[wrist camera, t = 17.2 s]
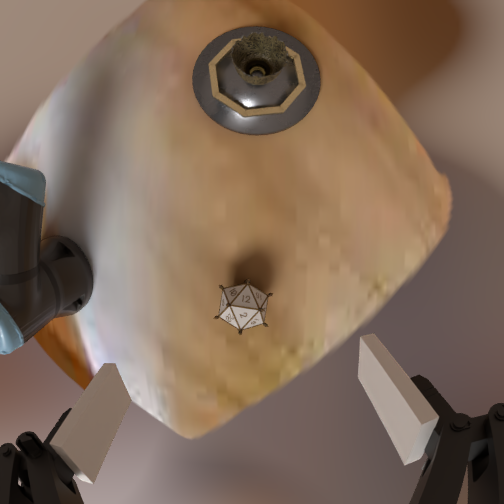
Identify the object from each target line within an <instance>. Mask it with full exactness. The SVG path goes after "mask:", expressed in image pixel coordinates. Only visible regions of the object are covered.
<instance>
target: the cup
mask: <svg viewBox="0 0 504 504" xmlns="http://www.w3.org/2000/svg"><path fill="white" fill-rule="evenodd" d="M287 56H288V51H286V46H285V44H284V42H283V41H281V40H279V39H278V37H276V36H273V37H272V38H270V37H269V36H265V35H264V33H263V32H260V33H259V34H258V33H257V32H251V33H250V34H249V35H248V36H247V37H246V36H244V35H243V36H242V37H241V41H239V40H237V41H236V42H235V44H234V45H233V46H232V53H231V57H232V62H233V64H234V66H235V69H236V71H237V73H238V74H239V76H240V77H241V78H242V79H243V80H245V81H246V82H248V83H251V84H255V85H263V84H267V83H269V82H271V81H273V80H274V79H275V78H276V77H277V76H278V75H279V74H280V73H281V71H282V70H283V68H284V67H285V66H286V64H287V61H288V58H287ZM255 70H259V71H261V72H262V74H263V76H261V77H260V76H252V73H253V71H255Z"/></svg>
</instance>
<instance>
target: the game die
mask: <svg viewBox="0 0 504 504" xmlns="http://www.w3.org/2000/svg"><path fill="white" fill-rule="evenodd" d="M249 283H250V279H247V280H246V281H245V284H240V285H236V286H231V287H226V288H223V286H222V285H219V287H220V288H221V289H222V297H221V303H220V309H219V315H218V316H215V317H214V318H213V319H218V318H219V317H220V318H221V319H223V320H224V321H226V322H227V323H229V324H230V325H232V326H234V327H235V328H237V329H238V331H239V335H241V334H242V330H245V329H248V328H251V327H255V326H258V325H261V324H263V325H264V326H265V327H268V325H267V324H266V323H264V321H265V315H266V308H267V302H268V297H269V296H272V295H273V293H269V294H268V295H267V294H265V293H264V292H262V291H260V290H259V289H257V288H256V287H254V286H252V285H251V284H249Z"/></svg>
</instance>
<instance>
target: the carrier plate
mask: <svg viewBox="0 0 504 504" xmlns="http://www.w3.org/2000/svg"><path fill="white" fill-rule="evenodd" d="M251 32H257V33H258V34H259V33H260V32H263V33H264V35H265V36H269V37H270V38H272V37H273V36H276V37H278V39H279V40H281V41H283V42H284V44H285V46H286V51H288V56H287V58H288V61H287V64H286V66H285V67H284V68H283V70H282V71H281V73H280V74H279V75H278V76H277V77H276V78H275V79H274V80H273V81H271V82H269V83H267V84H263V85H255V84H251V83H248V82H246V81H245V80H243V79H242V78H241V77H240V76H239V74H238V73H237V71H236V69H235V66H234V64H233V62H232V57H231V53H232V46H233V45H234V44H235V42H236V41H237V40H239V41H241V37H242V36H243V35H244V36H246V37H247V36H248V35H249V34H250V33H251ZM252 76H260V77H261V76H263V74H262V72H261V71H259V70H255V71H253V73H252ZM192 79H193V89H194V93H195V96H196V98H197V100H198V102H199V104H200V106H201V107H202V109H203V110H204V112H205V113H206V114H207V115H208V116H209V117H210V118H211V119H212V120H214V121H215V122H216V123H217V124H219V125H221V126H223V127H224V128H227V129H229V130H231V131H234V132H238V133H241V134H247V135H268V134H274V133H277V132H281V131H283V130H286V129H288V128H290V127H292V126H294V125H295V124H297V123H298V122H299V121H301V120H302V119H303V118H304V117H305V116H306V115H307V114H308V113H309V111H310V110H311V109H312V107H313V106H314V104H315V102H316V100H317V98H318V94H319V90H320V73H319V69H318V66H317V63H316V61H315V59H314V57H313V56H312V54H311V53H310V52H309V50H308V49H307V48H306V47H305V46H304V45H303V44H302V43H301V42H299V41H298V40H297V39H295V38H294V37H292V36H290V35H288V34H286V33H284V32H282V31H279V30H276V29H272V28H266V27H244V28H239V29H235V30H232V31H229V32H226V33H224V34H222V35H221V36H219V37H217V38H216V39H214V40H213V41H212V42H211V43H209V44H208V45H207V46H206V47H205V49H204V50H203V51H202V52H201V54H200V55H199V57H198V59H197V61H196V63H195V66H194V70H193V77H192Z"/></svg>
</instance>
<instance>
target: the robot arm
mask: <svg viewBox="0 0 504 504" xmlns="http://www.w3.org/2000/svg"><path fill="white" fill-rule="evenodd" d="M45 186H46V179H45V176H44V175H43V173H42V172H41V171H39V170H36V169H32V168H28V167H24V166H20V165H16V164H11V163H7V162H2V161H0V354H9V353H11V352H12V351H14V350H15V349H17V348H18V347H21V346H22V345H23V344H24V343H25V342H27V341H28V340H29V339H30V338H31V337H32V336H33V335H35V334H36V333H37V332H38V331H39V330H41V329H42V328H43V327H44V326H45V325H46V324H48V323H49V322H50V321H51V320H53V319H54V318H58V317H64V316H69V315H73V314H75V313H77V312H78V311H80V310H81V309H82V308H83V307H84V306H85V305H86V304H87V303H88V301H89V299H90V297H91V294H92V289H93V279H92V273H91V269H90V265H89V263H88V261H87V258H86V257H85V255H84V253H83V252H82V250H81V249H80V248H79V247H78V246H77V245H76V244H75V243H74V242H73V241H71V240H70V239H68V238H66V237H63V236H52V237H49V238H46V239H44V240H42V241H41V229H42V218H43V209H44V207H45V203H44V196H45ZM358 378H359V380H360V382H361V384H362V385H363V387H364V389H365V391H366V393H367V395H368V397H369V398H370V400H371V402H372V404H373V406H374V408H375V409H376V411H377V413H378V415H379V417H380V419H381V421H382V423H383V424H384V426H385V428H386V430H387V432H388V434H389V436H390V438H391V439H392V441H393V443H394V445H395V447H396V449H397V451H398V453H399V455H400V457H401V459H402V461H403V463H404V465H406V464H409V463H411V462H414V461H416V460H418V459H420V458H421V457H422V455H423V453H424V451H425V453H426V454H427V456H428V458H427V460H426V462H425V463H424V465H423V467H422V469H423V471H422V474H421V476H420V479H419V482H418V484H417V487H416V489H415V491H414V494H413V496H412V498H411V501H410V503H409V504H456V503H457V501H458V497H459V494H460V491H461V487H462V483H463V479H464V475H465V471H466V467H467V465H468V504H504V403H498V404H495V405H493V406H492V407H491V408H490V410H489V412H488V414H486V415H482V416H478V417H474V418H470V417H469V416H468V415H465V414H462V413H456V412H455V411H454V410H453V409H452V408H451V406H450V405H449V404H448V403H447V402H446V400H445V399H444V398H443V397H442V396H441V394H440V393H438V391H437V390H436V388H434V386H433V385H432V384H431V382H430V381H429V380H428V379H426V378H424V377H422V376H421V375H417V376H414V377H412V378H409V377H408V375H407V374H406V373H405V372H404V370H403V369H402V368H401V367H400V365H399V364H398V363H397V361H396V360H395V359H394V358H393V357H392V355H391V354H390V353H389V352H388V351H387V349H386V348H385V347H384V345H383V344H382V343H381V342H380V341H379V339H378V338H377V337H376V336H375V334H374V333H373V334H369V335H365V336H360V353H359V369H358ZM131 401H132V400H131V398H130V396H129V393H128V391H127V389H126V387H125V385H124V383H123V380H122V378H121V376H120V374H119V371H118V369H117V367H116V364H115V363H104V364H103V366H102V367H101V368H100V370H99V371H98V373H97V374H96V375H95V377H94V378H93V380H92V381H91V382H90V384H89V385H88V387H87V388H86V389H85V391H84V392H83V394H82V395H81V397H80V398H79V399H78V401H77V403H76V404H75V406H74V407H73V408H69V409H68V410H67V411H66V412H65V413H63V414H62V416H61V417H60V419H59V422H57V423H56V425H55V427H54V428H53V429H52V431H51V432H50V433H49V435H48V437H47V438H46V440H45V441H44V443H42V442H41V440H40V439H39V438H38V436H37V435H36V434H35V433H34V432H30V431H29V432H24V433H22V434H21V435H20V436H18V438H17V440H16V445H17V446H18V447H19V448H20V450H21V451H18V450H17V448H16V447H15V446H14V445H13V444H11V443H5V444H3V445H1V447H0V504H84V502H83V500H82V498H81V495H80V492H79V490H78V487H77V484H76V482H75V480H74V479H73V476H74V474H75V475H76V476H77V477H78V478H79V479H80V480H82V481H85V482H88V483H92V484H94V482H95V480H96V477H97V475H98V473H99V470H100V468H101V466H102V463H103V461H104V459H105V457H106V454H107V452H108V450H109V448H110V446H111V443H112V441H113V439H114V437H115V435H116V432H117V430H118V428H119V426H120V424H121V422H122V420H123V417H124V415H125V413H126V411H127V409H128V407H129V405H130V403H131ZM18 479H19V480H20V481H21V486H20V485H18Z"/></svg>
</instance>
